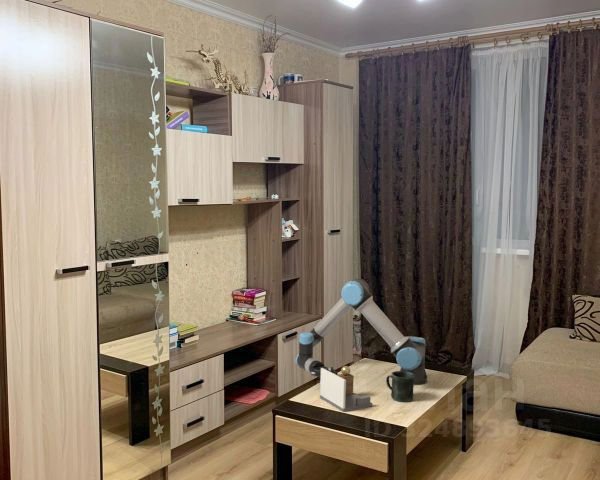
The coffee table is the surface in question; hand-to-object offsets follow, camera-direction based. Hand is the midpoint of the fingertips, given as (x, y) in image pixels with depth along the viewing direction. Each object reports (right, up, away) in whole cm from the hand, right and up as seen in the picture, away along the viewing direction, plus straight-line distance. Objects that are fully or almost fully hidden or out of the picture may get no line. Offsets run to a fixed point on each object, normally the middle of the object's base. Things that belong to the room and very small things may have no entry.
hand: (339, 380), depth 297 cm
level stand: (+2, -8, -10) cm, 13 cm away
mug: (+28, -8, -3) cm, 30 cm away
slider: (+2, -6, -3) cm, 7 cm away
